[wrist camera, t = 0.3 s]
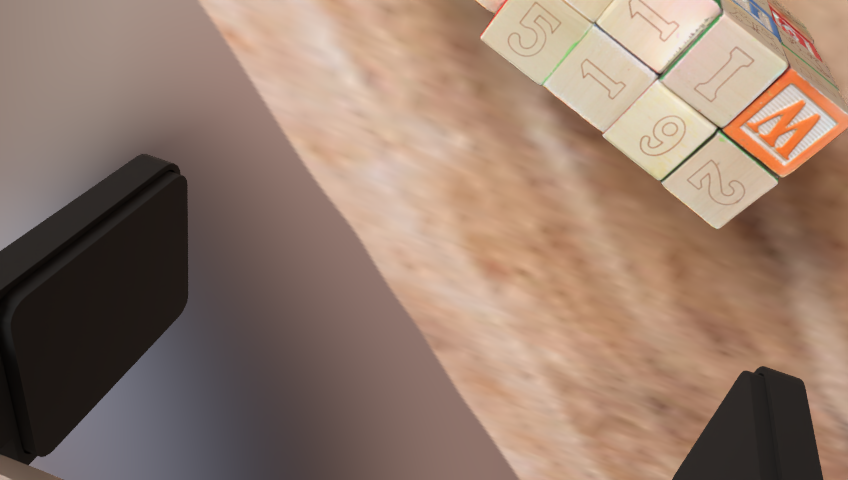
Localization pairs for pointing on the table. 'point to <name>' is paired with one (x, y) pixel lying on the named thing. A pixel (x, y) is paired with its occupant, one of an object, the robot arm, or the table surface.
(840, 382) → the table surface
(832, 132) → the stack of blocks
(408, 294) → the table surface
